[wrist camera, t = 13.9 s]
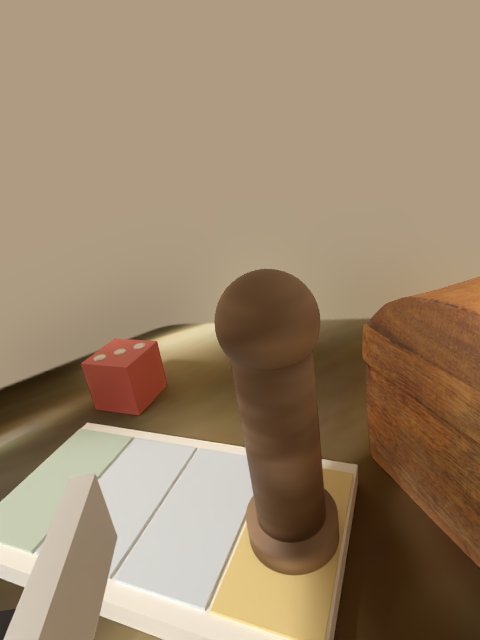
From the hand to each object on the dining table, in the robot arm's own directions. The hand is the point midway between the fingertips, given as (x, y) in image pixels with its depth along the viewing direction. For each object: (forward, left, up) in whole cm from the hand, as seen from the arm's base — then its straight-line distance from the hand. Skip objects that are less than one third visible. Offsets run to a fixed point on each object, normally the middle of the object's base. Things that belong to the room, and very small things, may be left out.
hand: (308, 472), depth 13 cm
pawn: (-3, +5, -10) cm, 11 cm away
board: (-11, +5, -11) cm, 17 cm away
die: (-22, +17, -11) cm, 30 cm away
